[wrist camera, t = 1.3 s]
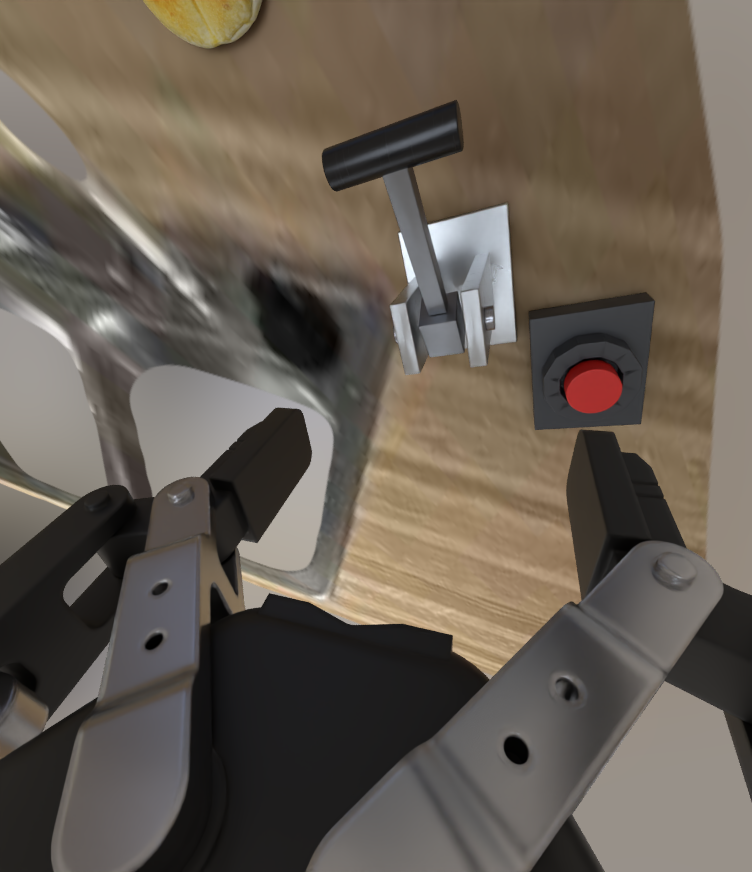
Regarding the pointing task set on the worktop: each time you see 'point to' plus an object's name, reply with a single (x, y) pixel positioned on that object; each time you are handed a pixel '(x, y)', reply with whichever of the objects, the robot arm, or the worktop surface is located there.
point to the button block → (590, 357)
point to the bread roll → (206, 19)
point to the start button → (592, 386)
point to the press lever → (409, 205)
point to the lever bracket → (463, 285)
